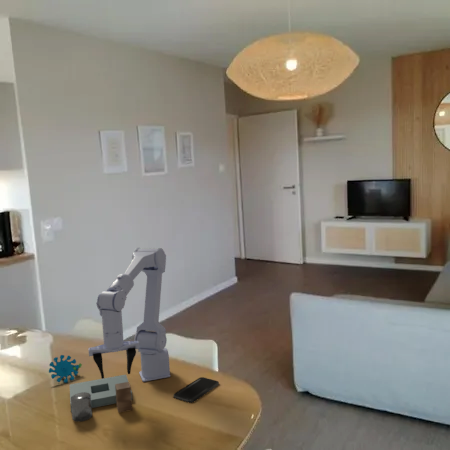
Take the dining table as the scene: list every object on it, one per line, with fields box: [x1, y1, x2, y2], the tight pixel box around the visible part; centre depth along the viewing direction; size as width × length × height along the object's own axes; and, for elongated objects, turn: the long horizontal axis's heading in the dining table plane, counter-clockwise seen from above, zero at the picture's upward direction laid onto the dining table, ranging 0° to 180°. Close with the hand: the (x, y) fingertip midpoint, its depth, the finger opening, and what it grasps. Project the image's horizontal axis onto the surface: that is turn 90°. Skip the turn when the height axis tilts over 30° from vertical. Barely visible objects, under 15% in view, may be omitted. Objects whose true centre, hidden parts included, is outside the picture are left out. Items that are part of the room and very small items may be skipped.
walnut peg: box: [115, 381, 133, 413], centre depth 138 cm, size 4×4×7 cm
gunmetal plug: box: [70, 392, 93, 423], centre depth 134 cm, size 6×6×6 cm
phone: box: [173, 376, 220, 404], centre depth 147 cm, size 8×1×15 cm
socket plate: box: [69, 374, 133, 413], centre depth 146 cm, size 18×14×2 cm
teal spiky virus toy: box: [48, 354, 83, 384], centre depth 161 cm, size 11×6×10 cm
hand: (115, 374), depth 139 cm, fingers open, 7 cm apart
